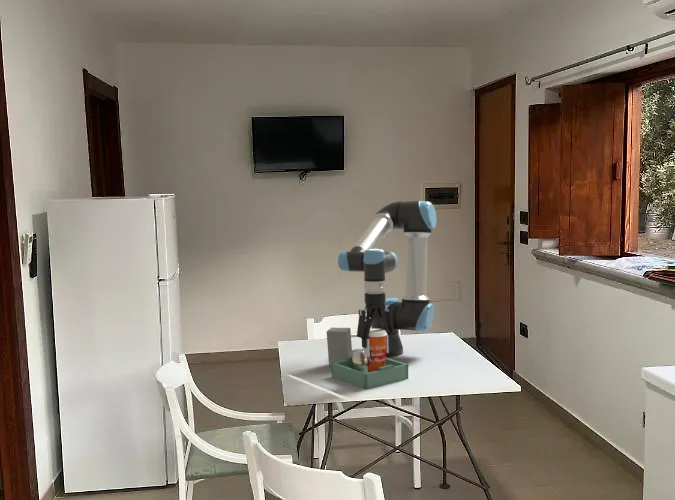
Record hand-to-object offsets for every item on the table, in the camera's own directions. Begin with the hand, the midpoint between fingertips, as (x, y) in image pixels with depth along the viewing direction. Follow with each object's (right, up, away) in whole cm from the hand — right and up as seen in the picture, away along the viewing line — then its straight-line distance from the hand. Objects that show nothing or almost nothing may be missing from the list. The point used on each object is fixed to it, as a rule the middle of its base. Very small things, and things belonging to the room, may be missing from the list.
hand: (376, 354), depth 237 cm
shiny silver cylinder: (-5, -9, +9) cm, 13 cm away
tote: (-2, -10, +4) cm, 11 cm away
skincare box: (-13, -9, +21) cm, 26 cm away
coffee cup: (0, -6, 0) cm, 6 cm away
